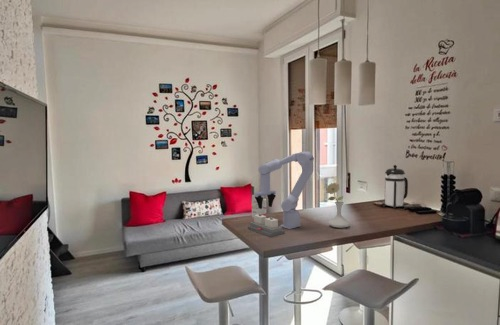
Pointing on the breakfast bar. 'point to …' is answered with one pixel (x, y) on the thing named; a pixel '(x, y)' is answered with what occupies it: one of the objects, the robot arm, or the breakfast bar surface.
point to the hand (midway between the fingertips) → (265, 207)
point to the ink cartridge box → (256, 209)
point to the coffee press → (395, 187)
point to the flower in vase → (338, 219)
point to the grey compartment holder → (267, 227)
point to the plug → (259, 219)
